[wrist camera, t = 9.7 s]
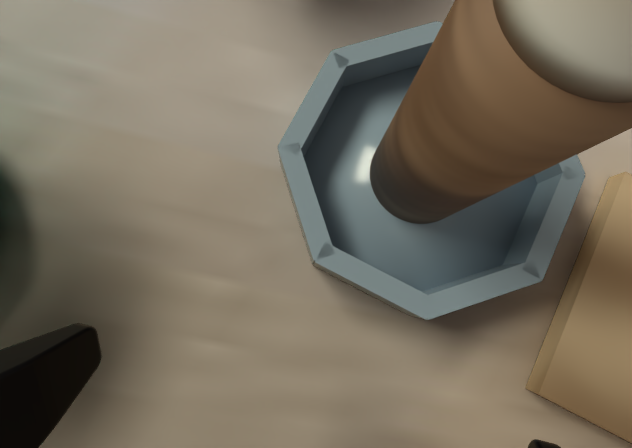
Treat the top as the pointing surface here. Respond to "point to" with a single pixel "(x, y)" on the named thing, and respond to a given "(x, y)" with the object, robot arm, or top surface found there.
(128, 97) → the top surface
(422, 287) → the dish
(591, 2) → the pepper mill
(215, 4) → the top surface
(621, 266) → the trivet
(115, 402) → the top surface
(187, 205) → the top surface
